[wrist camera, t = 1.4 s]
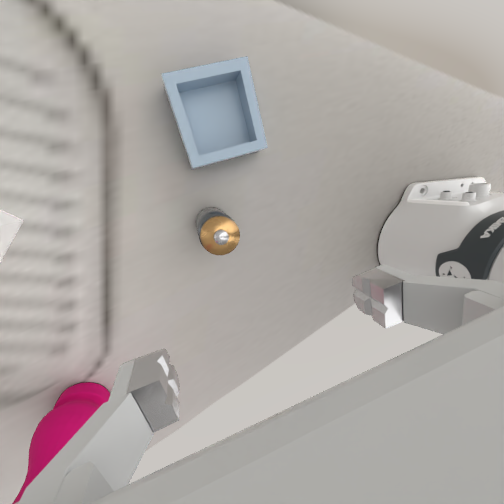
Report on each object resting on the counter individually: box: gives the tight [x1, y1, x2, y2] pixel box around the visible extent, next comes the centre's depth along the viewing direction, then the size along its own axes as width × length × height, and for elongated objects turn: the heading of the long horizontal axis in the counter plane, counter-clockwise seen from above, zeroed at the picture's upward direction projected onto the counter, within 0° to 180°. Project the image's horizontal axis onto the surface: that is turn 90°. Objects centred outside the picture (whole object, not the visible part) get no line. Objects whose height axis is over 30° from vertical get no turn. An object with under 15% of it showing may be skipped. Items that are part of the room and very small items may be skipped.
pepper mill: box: [13, 382, 110, 504], centre depth 23 cm, size 7×7×20 cm
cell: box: [196, 207, 240, 255], centre depth 26 cm, size 4×4×9 cm
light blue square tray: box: [161, 56, 268, 170], centre depth 26 cm, size 8×8×4 cm
